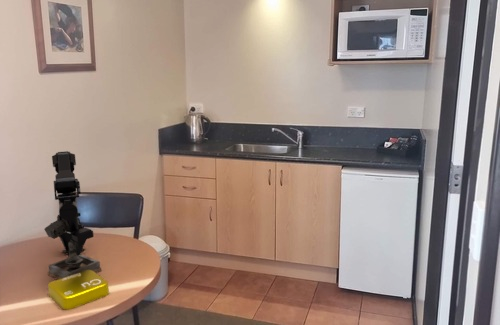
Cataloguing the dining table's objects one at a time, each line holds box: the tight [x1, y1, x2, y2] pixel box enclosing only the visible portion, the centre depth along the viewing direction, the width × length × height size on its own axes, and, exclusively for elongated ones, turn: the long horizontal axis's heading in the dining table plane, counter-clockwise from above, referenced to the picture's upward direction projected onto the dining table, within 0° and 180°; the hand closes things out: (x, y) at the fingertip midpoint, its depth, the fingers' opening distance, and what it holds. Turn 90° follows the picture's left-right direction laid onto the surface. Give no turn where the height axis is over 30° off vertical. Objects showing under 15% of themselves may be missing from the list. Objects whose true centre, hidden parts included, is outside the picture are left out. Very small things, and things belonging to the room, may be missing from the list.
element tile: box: [47, 270, 110, 311], centre depth 145 cm, size 15×15×5 cm
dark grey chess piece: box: [65, 238, 83, 272], centre depth 158 cm, size 6×6×12 cm
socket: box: [47, 253, 102, 280], centre depth 159 cm, size 13×13×4 cm
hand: (73, 253), depth 158 cm, fingers open, 6 cm apart
